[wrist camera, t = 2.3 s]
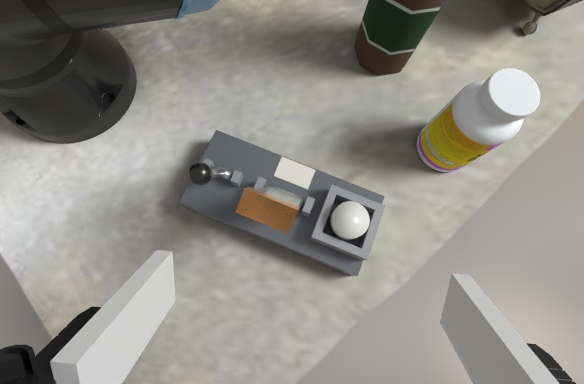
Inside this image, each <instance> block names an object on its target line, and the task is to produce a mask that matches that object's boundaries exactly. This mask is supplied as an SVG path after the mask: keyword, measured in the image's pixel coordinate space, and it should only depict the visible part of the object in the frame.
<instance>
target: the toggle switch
mask: <svg viewBox="0 0 584 384" xmlns="http://www.w3.org/2000/svg"><path fill="white" fill-rule="evenodd" d="M232 176H233V172H232V171H229V170H227V169H224V168H222V167H219V166H217V165H214V167H213V169H211V168H210V167H209V165H207V164H206V163H203V162H196V163H194V164H192V165H191V166H190V168H189V170H188V177H189V179H190V181H191V182H192V183H194V184H196V185H205V184H207V183H208V182H209V181H210V180H211V178H219V177H221V178H224V179H226V180H228V181H230V180H231V178H232Z"/></svg>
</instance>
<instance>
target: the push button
mask: <svg viewBox="0 0 584 384" xmlns="http://www.w3.org/2000/svg"><path fill="white" fill-rule="evenodd" d="M369 222H370V219H369V214H368V212H367V210H366V209H365V208H364V207H363V206H362V205H361V204H359V203H357V202H354V201H347V202H343V203H341V204H340V205H339V206H338V207H337V208H336V209H335V210H334V211H333V212H332V214H331V216H330V221H329V223H330V228H331V230H332V232H333V233H334V234H335V235H336V236H337V237H338V238H340V239H343V240H353V239H355V238H357V237H359V236H361V235H363V234H364V233H365V232H366V231H367V229H368V227H369Z"/></svg>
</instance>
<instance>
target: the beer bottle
mask: <svg viewBox="0 0 584 384" xmlns="http://www.w3.org/2000/svg"><path fill="white" fill-rule="evenodd" d="M444 2H445V0H369V1H368V4H367V7H366V10H365V13H364V16H363V19H362V22H361V25H360V28H359V31H358V34H357V37H356V41H355V49H356V52H357V55H358V59H359V62H360V65H361V66H363V67H365V68H366V69H368V70H370V71H372V72H373V73H375V74H377V75H384V74H391V73H397V72H400V71H401V70H402V68H403V67H404V66H405V64H406V63H407V61H408V60H409V58H410V57H411V55H412V53H413V52H414V50H415V49H416V47H417V46H418V44H419V42H420V41H421V39H422V38H423V36H424V34H425V33H426V31H427V29H428V28H429V26H430V25H431V23H432V21H433V20H434V18H435V16H436V15H437V13H438V12H439V10H440V8H441V7H442V5H443V4H444Z"/></svg>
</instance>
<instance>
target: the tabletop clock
mask: <svg viewBox="0 0 584 384" xmlns="http://www.w3.org/2000/svg"><path fill="white" fill-rule="evenodd" d="M522 1H523V2H524V3H525V4H526V5H527V6H528V7H529V8H530V9H531V10H532V11H534V12H535V13H536V14H535V16H534V18H533V20H532V22H528V23H526V24H525V25H524V26H523V33H524V34H532V33H534V32H535V31H536V29H537V24H536V21H537V20H538V19H539V18H540V16H541V15H542V16H546V15H548V14H550V13H553V12H555V11H558V10H560V9H563V8H565V7H568V6H570V5H573V4H575V3H578V2H580V1H582V0H522Z"/></svg>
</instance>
